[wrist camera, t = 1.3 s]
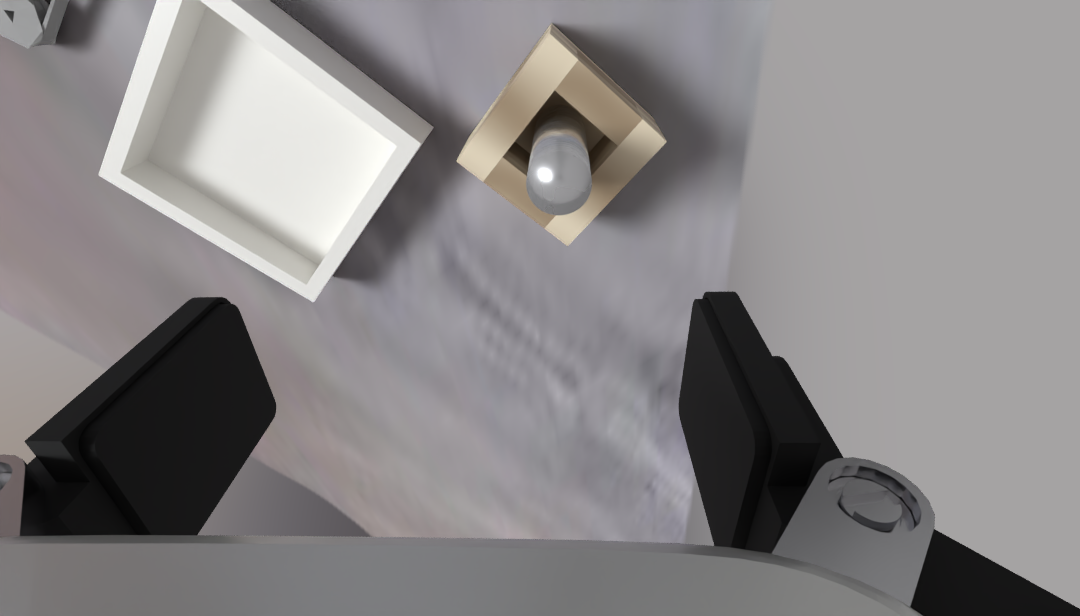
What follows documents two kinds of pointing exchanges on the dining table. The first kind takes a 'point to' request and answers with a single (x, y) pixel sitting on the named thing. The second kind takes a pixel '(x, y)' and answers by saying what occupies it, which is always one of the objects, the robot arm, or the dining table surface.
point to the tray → (258, 137)
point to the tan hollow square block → (610, 124)
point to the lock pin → (559, 162)
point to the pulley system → (31, 21)
